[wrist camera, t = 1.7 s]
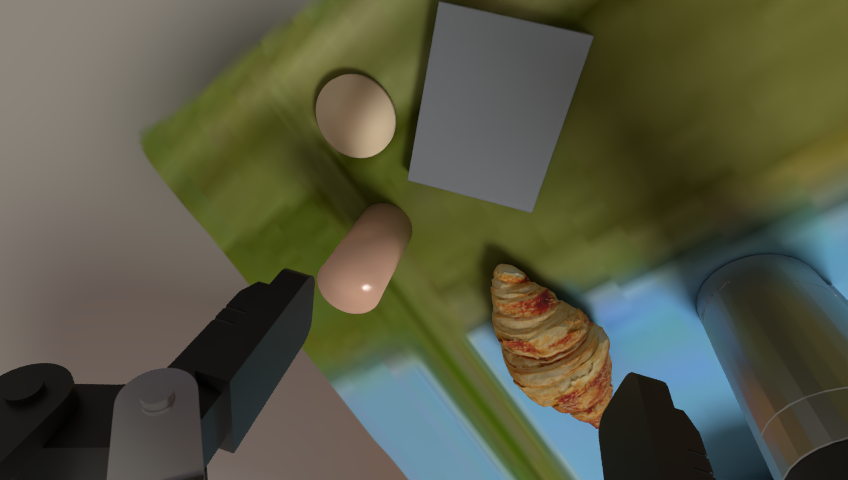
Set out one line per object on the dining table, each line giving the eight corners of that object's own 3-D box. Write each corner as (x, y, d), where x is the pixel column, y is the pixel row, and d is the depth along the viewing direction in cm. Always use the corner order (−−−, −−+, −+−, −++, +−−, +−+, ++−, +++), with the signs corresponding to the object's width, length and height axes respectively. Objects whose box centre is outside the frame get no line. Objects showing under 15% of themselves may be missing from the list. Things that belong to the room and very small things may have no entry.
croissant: (478, 251, 47) (435, 304, 43) (558, 235, 39) (515, 299, 35) (577, 391, 53) (547, 450, 49) (664, 402, 45) (638, 474, 41)
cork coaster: (402, 84, 37) (400, 86, 36) (390, 164, 41) (388, 166, 40) (321, 64, 38) (318, 65, 37) (316, 144, 41) (313, 146, 41)
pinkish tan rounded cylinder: (416, 211, 42) (385, 269, 34) (407, 256, 45) (376, 321, 37) (363, 196, 43) (319, 250, 34) (357, 242, 46) (315, 303, 37)
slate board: (592, 34, 32) (593, 36, 31) (532, 206, 40) (532, 212, 39) (442, 0, 33) (439, 1, 32) (410, 174, 41) (407, 180, 40)
